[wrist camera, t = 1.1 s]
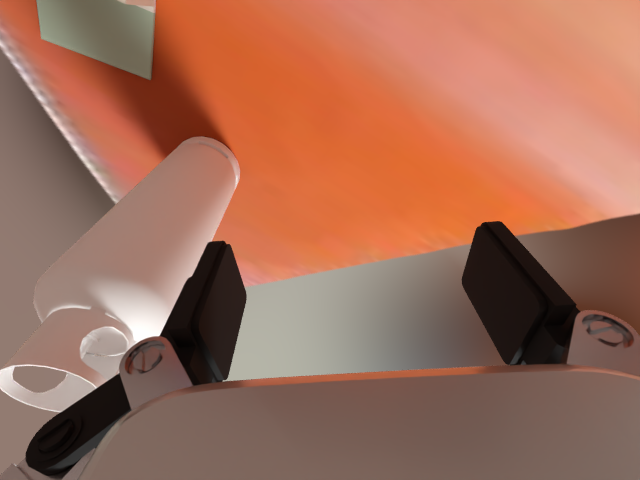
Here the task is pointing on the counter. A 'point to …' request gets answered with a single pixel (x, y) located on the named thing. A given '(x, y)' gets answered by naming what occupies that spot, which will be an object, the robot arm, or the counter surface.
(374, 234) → the counter surface
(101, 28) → the lane
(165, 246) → the bottle
